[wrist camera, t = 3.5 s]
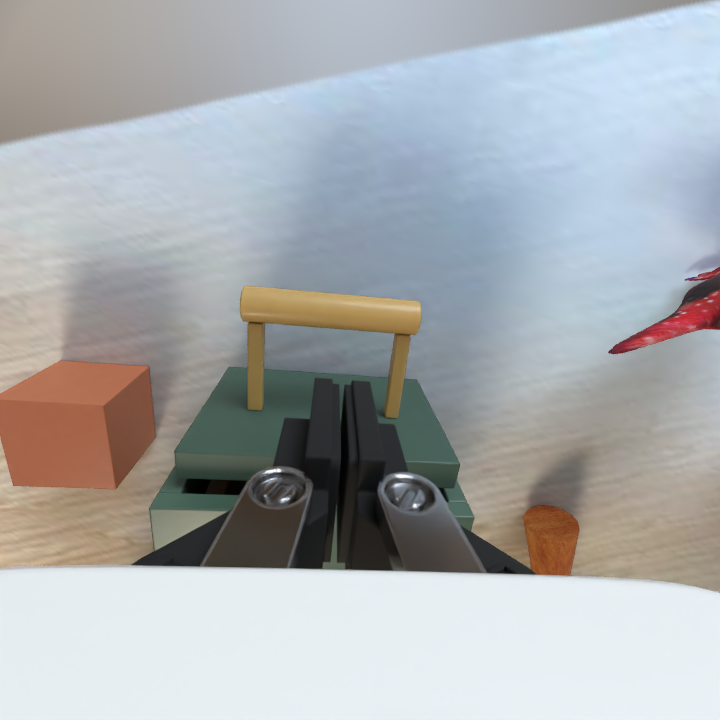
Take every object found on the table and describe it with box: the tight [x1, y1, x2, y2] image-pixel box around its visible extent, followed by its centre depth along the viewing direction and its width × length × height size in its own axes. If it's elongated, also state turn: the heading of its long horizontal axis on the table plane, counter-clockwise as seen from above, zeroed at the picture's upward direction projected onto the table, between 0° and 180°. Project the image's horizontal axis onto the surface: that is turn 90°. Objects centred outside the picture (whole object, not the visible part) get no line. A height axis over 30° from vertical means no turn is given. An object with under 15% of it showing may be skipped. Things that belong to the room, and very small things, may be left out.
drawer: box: [174, 286, 460, 495], centre depth 19 cm, size 19×10×8 cm, turn 174°
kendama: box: [524, 505, 579, 576], centre depth 28 cm, size 6×6×20 cm
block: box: [0, 361, 156, 489], centre depth 20 cm, size 5×5×5 cm
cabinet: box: [149, 465, 474, 570], centre depth 21 cm, size 15×12×10 cm
